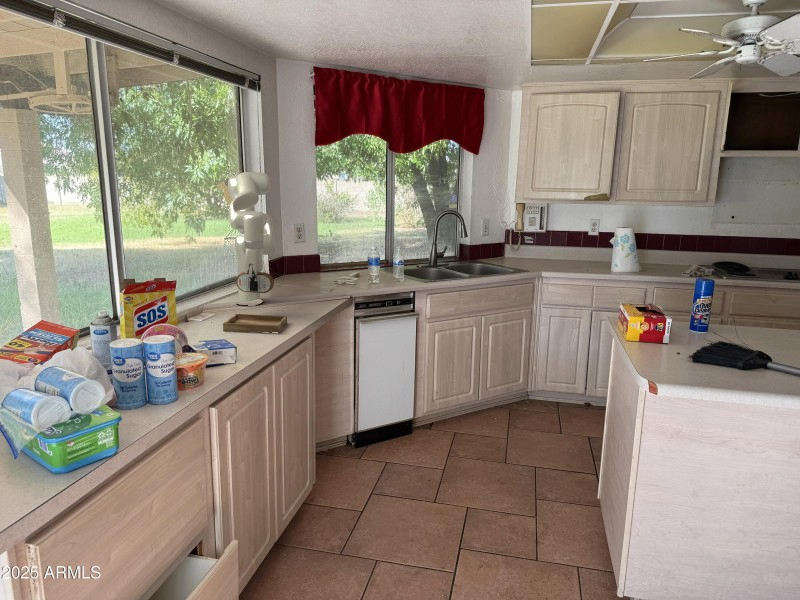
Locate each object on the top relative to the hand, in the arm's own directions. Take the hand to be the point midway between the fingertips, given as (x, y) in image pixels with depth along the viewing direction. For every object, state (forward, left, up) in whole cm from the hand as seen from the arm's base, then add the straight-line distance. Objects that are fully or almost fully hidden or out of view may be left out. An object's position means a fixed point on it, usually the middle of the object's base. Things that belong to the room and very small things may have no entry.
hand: (255, 289), depth 219 cm
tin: (0, 0, -1) cm, 1 cm away
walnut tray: (+14, +4, -12) cm, 19 cm away
